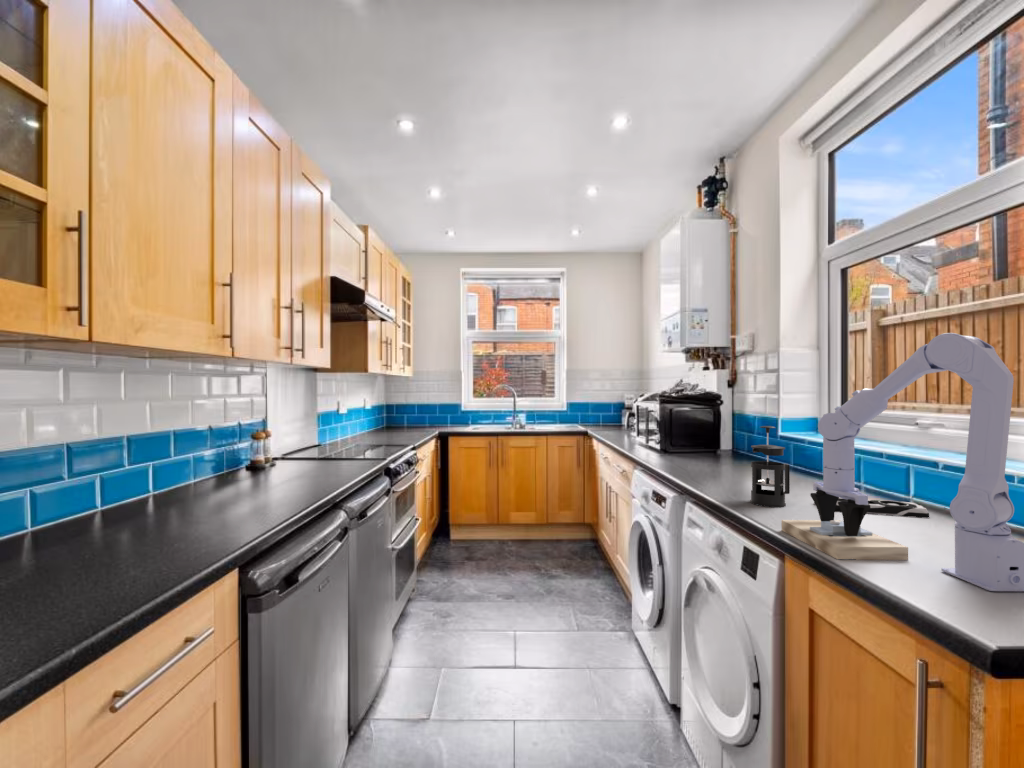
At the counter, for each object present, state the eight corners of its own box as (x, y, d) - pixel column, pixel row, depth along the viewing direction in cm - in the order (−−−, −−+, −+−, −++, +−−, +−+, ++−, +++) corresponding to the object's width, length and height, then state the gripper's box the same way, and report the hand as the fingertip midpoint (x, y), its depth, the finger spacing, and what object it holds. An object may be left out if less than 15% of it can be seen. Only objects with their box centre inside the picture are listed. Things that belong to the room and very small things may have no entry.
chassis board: (908, 559, 96) (908, 547, 96) (837, 559, 96) (837, 546, 96) (839, 530, 116) (839, 520, 116) (781, 530, 116) (781, 520, 116)
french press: (760, 507, 139) (760, 427, 139) (741, 500, 148) (741, 425, 149) (798, 506, 140) (798, 427, 141) (777, 499, 150) (777, 424, 150)
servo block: (872, 547, 104) (872, 524, 104) (821, 547, 104) (821, 523, 104) (858, 541, 108) (858, 519, 108) (809, 541, 108) (809, 518, 108)
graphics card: (813, 494, 145) (914, 500, 137) (813, 505, 145) (914, 512, 137) (824, 501, 135) (933, 508, 128) (824, 513, 135) (933, 521, 128)
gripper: (882, 473, 99) (882, 540, 99) (834, 463, 114) (834, 521, 114) (848, 473, 99) (848, 540, 99) (804, 463, 114) (804, 521, 114)
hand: (838, 530), depth 106 cm, fingers open, 7 cm apart
